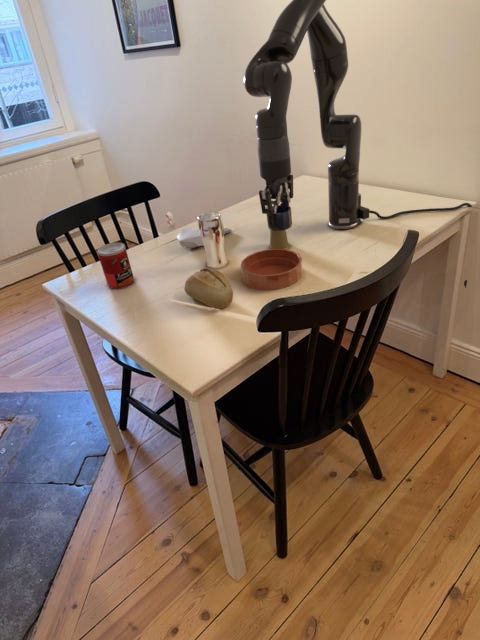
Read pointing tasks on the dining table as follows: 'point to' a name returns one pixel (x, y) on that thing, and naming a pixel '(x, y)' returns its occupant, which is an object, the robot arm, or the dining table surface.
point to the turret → (193, 237)
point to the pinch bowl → (282, 218)
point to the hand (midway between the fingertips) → (279, 222)
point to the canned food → (115, 265)
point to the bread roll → (210, 288)
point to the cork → (278, 239)
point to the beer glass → (212, 238)
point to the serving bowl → (272, 269)
